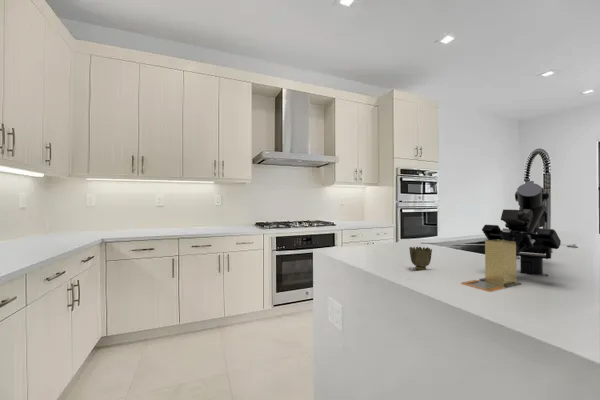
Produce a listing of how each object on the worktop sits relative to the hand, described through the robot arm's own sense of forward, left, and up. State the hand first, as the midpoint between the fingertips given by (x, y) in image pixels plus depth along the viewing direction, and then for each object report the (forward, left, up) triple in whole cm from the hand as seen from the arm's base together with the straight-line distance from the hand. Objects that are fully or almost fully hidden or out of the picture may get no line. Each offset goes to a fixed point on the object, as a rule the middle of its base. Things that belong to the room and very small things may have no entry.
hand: (507, 256), depth 83 cm
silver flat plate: (+7, 0, -8) cm, 11 cm away
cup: (+9, -23, -8) cm, 26 cm away
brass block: (+3, 0, -7) cm, 8 cm away
